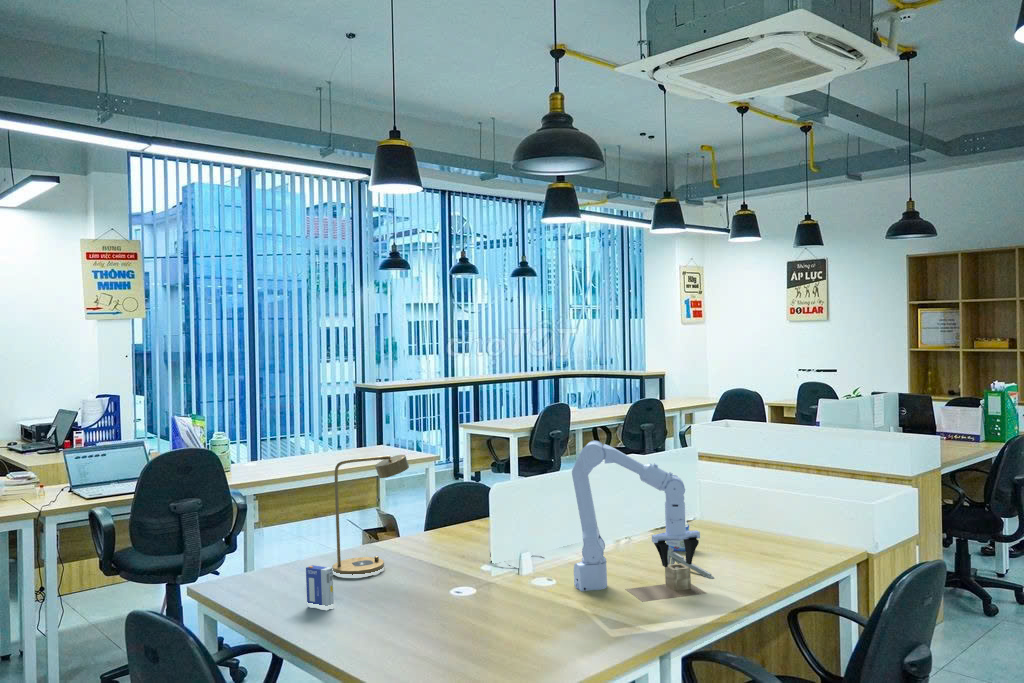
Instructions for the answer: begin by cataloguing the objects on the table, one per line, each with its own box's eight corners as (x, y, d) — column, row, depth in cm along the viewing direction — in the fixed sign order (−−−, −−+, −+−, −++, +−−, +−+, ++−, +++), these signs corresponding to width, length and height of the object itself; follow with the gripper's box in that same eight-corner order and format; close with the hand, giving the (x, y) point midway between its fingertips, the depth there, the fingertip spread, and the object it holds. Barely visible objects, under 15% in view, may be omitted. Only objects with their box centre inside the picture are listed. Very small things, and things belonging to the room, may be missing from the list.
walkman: (307, 607, 224) (305, 566, 224) (313, 605, 226) (312, 563, 226) (327, 611, 220) (325, 569, 220) (334, 608, 222) (332, 566, 222)
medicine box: (666, 550, 271) (665, 526, 271) (667, 547, 275) (666, 523, 276) (689, 551, 269) (688, 526, 269) (690, 548, 273) (689, 524, 273)
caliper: (666, 565, 254) (665, 546, 254) (668, 565, 255) (668, 545, 255) (712, 579, 237) (711, 559, 237) (714, 579, 237) (713, 558, 237)
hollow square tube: (674, 590, 222) (673, 570, 222) (665, 585, 227) (664, 565, 227) (691, 588, 223) (690, 567, 223) (682, 583, 228) (681, 563, 228)
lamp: (418, 570, 259) (414, 456, 259) (337, 582, 248) (333, 463, 249) (405, 558, 275) (401, 451, 275) (328, 569, 264) (324, 458, 265)
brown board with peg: (642, 607, 213) (641, 580, 213) (625, 594, 225) (624, 568, 225) (707, 598, 219) (706, 572, 219) (687, 586, 230) (686, 561, 230)
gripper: (658, 523, 220) (660, 571, 219) (704, 518, 223) (706, 565, 223) (648, 518, 226) (649, 564, 226) (692, 514, 230) (694, 559, 230)
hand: (676, 564), depth 225 cm, fingers open, 7 cm apart
